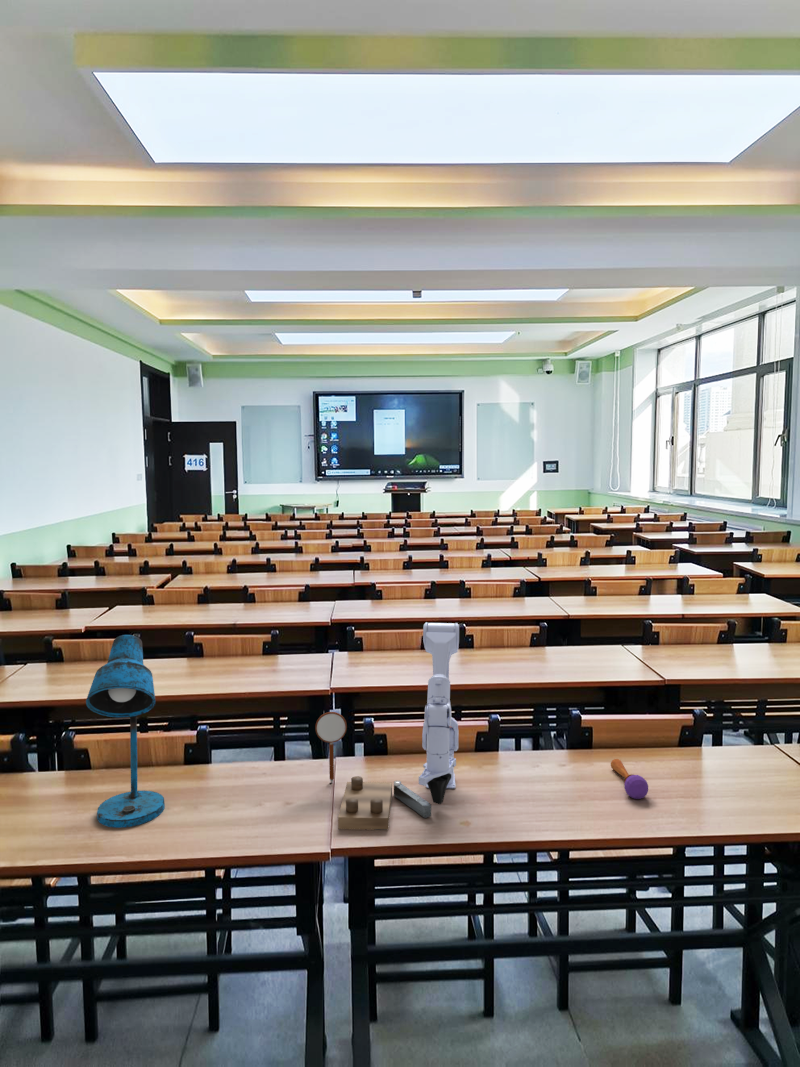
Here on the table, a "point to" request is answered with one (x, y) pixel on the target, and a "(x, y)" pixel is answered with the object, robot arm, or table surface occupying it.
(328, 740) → the magnifying glass
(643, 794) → the purple mallet
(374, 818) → the stool seat
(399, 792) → the hinged leg
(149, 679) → the desk lamp
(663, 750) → the table surface
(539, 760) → the table surface
